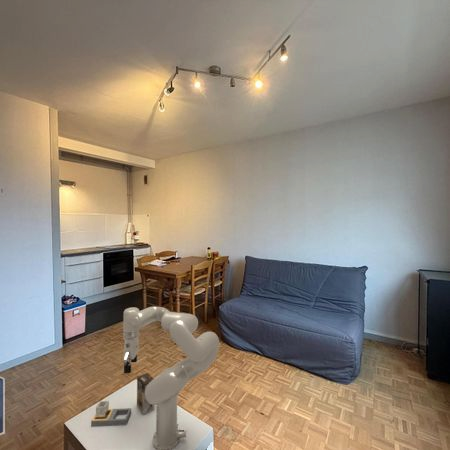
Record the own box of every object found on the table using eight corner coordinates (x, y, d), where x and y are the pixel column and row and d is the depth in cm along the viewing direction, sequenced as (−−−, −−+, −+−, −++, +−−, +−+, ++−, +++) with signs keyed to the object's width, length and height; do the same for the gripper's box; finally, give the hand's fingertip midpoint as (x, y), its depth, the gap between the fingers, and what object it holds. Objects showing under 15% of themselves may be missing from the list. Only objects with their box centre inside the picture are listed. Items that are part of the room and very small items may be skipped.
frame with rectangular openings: (131, 412, 130) (131, 407, 130) (126, 424, 122) (126, 419, 122) (98, 414, 129) (98, 409, 129) (91, 426, 121) (91, 421, 121)
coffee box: (136, 406, 135) (136, 376, 135) (147, 400, 139) (147, 372, 140) (143, 415, 128) (143, 384, 129) (154, 409, 133) (155, 379, 133)
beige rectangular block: (108, 416, 127) (108, 400, 128) (104, 423, 123) (105, 406, 123) (99, 416, 127) (99, 400, 127) (95, 423, 123) (96, 406, 123)
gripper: (133, 340, 115) (133, 377, 115) (143, 326, 132) (142, 358, 132) (117, 341, 114) (116, 377, 114) (129, 326, 132) (128, 358, 131)
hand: (130, 367), depth 123 cm, fingers open, 9 cm apart
